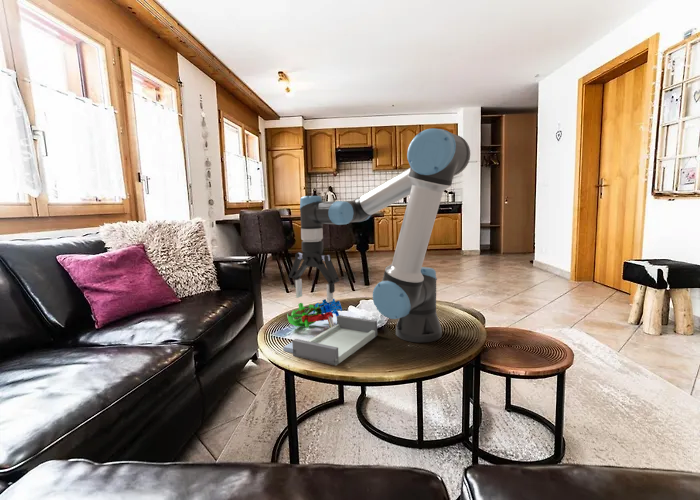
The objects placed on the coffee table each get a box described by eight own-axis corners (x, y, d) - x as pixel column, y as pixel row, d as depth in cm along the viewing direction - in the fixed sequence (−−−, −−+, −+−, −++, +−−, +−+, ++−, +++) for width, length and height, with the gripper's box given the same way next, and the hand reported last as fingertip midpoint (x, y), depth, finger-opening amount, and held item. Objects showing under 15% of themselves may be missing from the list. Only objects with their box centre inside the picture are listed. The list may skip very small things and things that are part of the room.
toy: (338, 316, 138) (342, 296, 131) (344, 336, 132) (349, 317, 124) (286, 323, 132) (287, 302, 125) (290, 344, 126) (291, 324, 118)
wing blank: (297, 344, 116) (297, 338, 116) (307, 347, 114) (307, 340, 114) (283, 352, 110) (283, 346, 110) (293, 355, 108) (293, 349, 108)
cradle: (377, 335, 121) (376, 320, 121) (335, 366, 99) (335, 349, 98) (339, 328, 129) (338, 315, 128) (293, 356, 107) (292, 340, 106)
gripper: (348, 240, 123) (349, 300, 126) (291, 237, 135) (293, 292, 138) (336, 243, 116) (338, 306, 120) (277, 240, 129) (280, 297, 132)
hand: (314, 299), depth 129 cm, fingers open, 13 cm apart
